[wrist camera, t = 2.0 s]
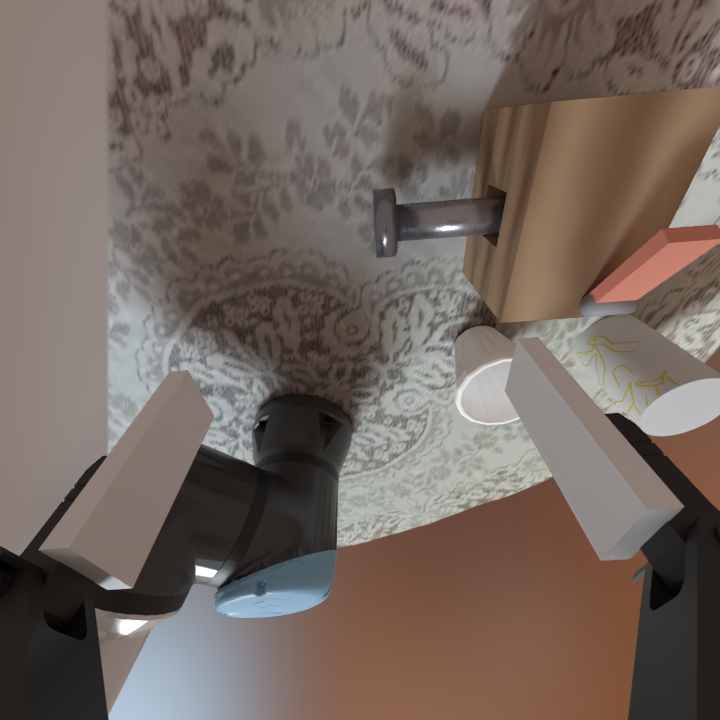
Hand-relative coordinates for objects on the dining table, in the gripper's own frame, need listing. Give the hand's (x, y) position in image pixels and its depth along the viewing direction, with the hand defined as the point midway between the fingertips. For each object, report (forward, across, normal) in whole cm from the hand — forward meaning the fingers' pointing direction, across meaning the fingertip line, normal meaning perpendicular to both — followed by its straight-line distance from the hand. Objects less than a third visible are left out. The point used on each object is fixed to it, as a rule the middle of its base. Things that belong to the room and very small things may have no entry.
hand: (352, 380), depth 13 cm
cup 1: (+23, +14, -16) cm, 32 cm away
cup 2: (+23, +31, -17) cm, 43 cm away
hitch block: (+23, +17, +1) cm, 29 cm away
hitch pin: (+20, +9, +1) cm, 22 cm away
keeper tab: (+10, +19, -1) cm, 22 cm away
